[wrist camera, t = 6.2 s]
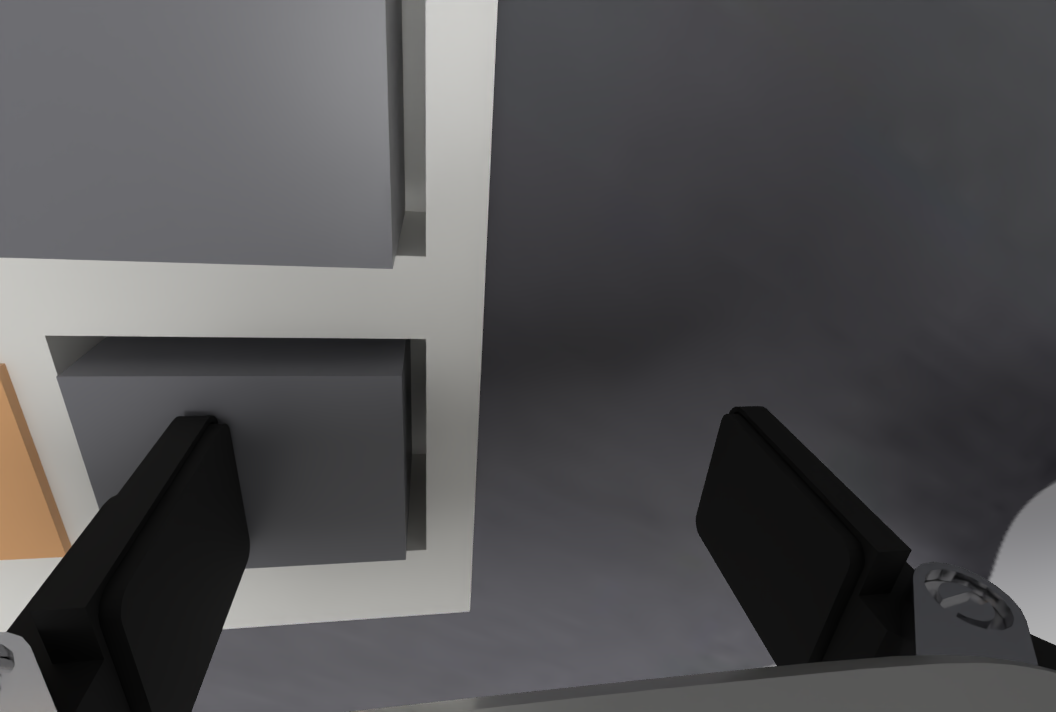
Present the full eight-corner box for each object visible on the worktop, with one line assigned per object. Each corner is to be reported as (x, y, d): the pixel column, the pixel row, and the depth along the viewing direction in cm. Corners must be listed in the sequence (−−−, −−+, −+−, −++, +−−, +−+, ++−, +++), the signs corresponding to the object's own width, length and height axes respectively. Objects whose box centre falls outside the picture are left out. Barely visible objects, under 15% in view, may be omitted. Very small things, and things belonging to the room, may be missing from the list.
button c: (409, 301, 13) (401, 376, 10) (411, 454, 15) (405, 559, 11) (157, 295, 12) (56, 376, 9) (193, 459, 14) (120, 575, 10)
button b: (400, -63, 9) (381, -145, 6) (405, 211, 11) (392, 269, 7) (18, -111, 8) (-268, -241, 5) (95, 196, 10) (-72, 255, 6)
